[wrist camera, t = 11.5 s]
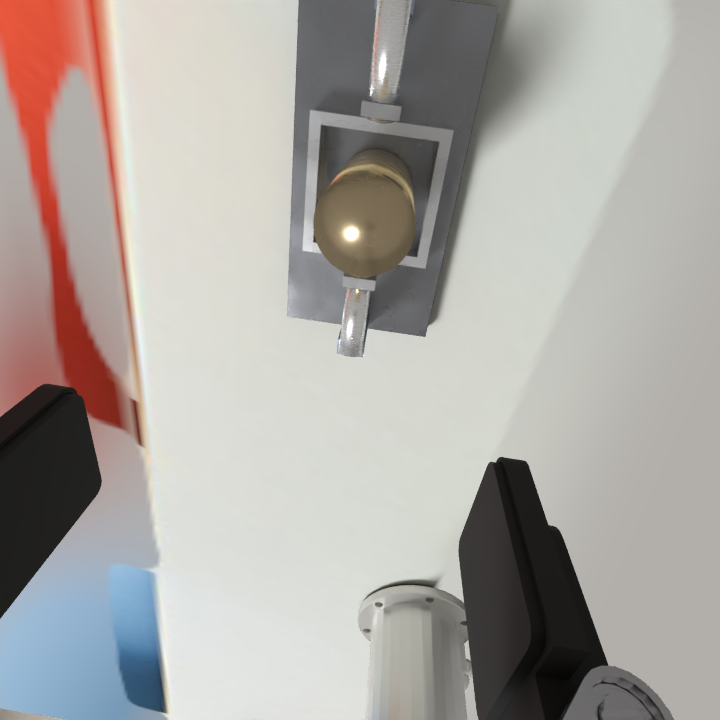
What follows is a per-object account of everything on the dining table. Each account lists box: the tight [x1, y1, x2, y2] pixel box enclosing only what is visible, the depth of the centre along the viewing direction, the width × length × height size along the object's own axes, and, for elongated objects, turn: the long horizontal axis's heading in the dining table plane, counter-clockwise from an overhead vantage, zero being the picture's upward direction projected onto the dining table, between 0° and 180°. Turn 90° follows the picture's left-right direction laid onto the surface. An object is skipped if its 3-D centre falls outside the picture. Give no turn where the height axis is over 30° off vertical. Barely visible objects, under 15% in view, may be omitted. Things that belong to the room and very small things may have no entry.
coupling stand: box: [287, 0, 499, 357], centre depth 24 cm, size 10×18×6 cm, turn 173°
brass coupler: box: [313, 149, 415, 277], centre depth 23 cm, size 4×4×8 cm
